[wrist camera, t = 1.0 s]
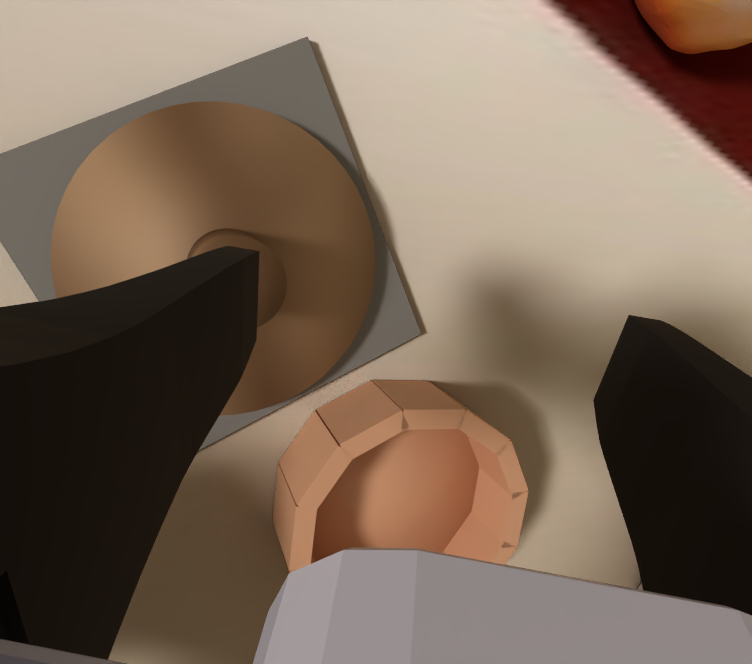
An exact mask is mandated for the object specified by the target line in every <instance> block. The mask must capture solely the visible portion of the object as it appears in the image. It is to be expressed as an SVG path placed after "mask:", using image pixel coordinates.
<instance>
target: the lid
mask: <svg viewBox="0 0 752 664" xmlns="http://www.w3.org/2000/svg"><path fill="white" fill-rule="evenodd" d="M225 246H234V247H239V248H245V249H251V250H257V251H260V254H259V283H258V312H257V340H256V343H255V345H254V348H253V350H252V353H251V356H250V358H249V361H248V363H247V366H246V368H245V370H244V373H243V375H242V377H241V379H240V381H239V383H238V385H237V386H236V388H235V390H234V392H233V393H232V395H231V397H230V398H229V400H228V402H227V404H226V405H225V407H224V409H223V410H222V412H221V414H220V415H219V416H222V415H237V414H242V413H248V412H253V411H258V410H261V409H264V408H267V407H270V406H274V405H276V404H278V403H281V402H283V401H285V400H287V399H290V398H292V397H294V396H295V395H297V394H299V393H300V392H302V391H304V390H305V389H307V388H309V387H310V386H311V385H312V384H314V383H315V382H316V381H318V380H319V379H320V378H321V377H323V376H324V375H325V374H326V373H327V372H328V371H329V370H330V369H331V368H332V367H333V366H334V365H335V364H336V363H337V362H338V360H339V359H340V358H341V357H342V355H343V354H344V353H345V352H346V350H347V349H348V348H349V346H350V344H351V343H352V341H353V340H354V338H355V336H356V335H357V333H358V331H359V329H360V327H361V325H362V322H363V320H364V318H365V316H366V312H367V309H368V306H369V303H370V300H371V296H372V290H373V285H374V278H375V263H376V261H375V244H374V238H373V233H372V227H371V223H370V220H369V217H368V213H367V210H366V207H365V204H364V202H363V200H362V198H361V196H360V194H359V191H358V189H357V187H356V186H355V184H354V182H353V181H352V179H351V178H350V176H349V174H348V173H347V171H346V170H345V169H344V167H343V166H342V165H341V164H340V163H339V161H338V160H337V159H336V158H335V156H334V155H333V154H332V153H331V152H330V151H329V150H328V149H327V148H326V147H324V146H323V145H322V144H321V143H320V142H319V141H318V140H317V139H315V138H314V137H313V136H311V135H310V134H309V133H307V132H306V131H305V130H303V129H302V128H300V127H299V126H297V125H295V124H293V123H291V122H290V121H288V120H286V119H284V118H282V117H280V116H277V115H275V114H272V113H270V112H267V111H265V110H262V109H259V108H255V107H251V106H247V105H243V104H237V103H228V102H219V101H209V102H191V103H184V104H178V105H172V106H169V107H166V108H162V109H159V110H156V111H153V112H150V113H147V114H145V115H143V116H141V117H139V118H137V119H135V120H133V121H131V122H129V123H127V124H126V125H124V126H123V127H121V128H120V129H118V130H117V131H115V132H114V133H112V134H111V135H109V136H108V137H107V138H106V139H105V140H104V141H103V142H102V143H100V144H99V145H98V146H97V147H96V148H95V149H94V150H93V151H92V152H91V153H90V154H89V156H88V157H87V158H86V159H85V160H84V162H83V163H82V164H81V165H80V167H79V168H78V169H77V171H76V173H75V174H74V176H73V178H72V179H71V181H70V183H69V184H68V186H67V188H66V190H65V192H64V195H63V197H62V200H61V202H60V205H59V207H58V210H57V214H56V218H55V222H54V227H53V231H52V241H51V253H50V255H51V271H52V280H53V284H54V289H55V293H56V298H60V297H65V296H69V295H74V294H78V293H83V292H87V291H91V290H95V289H99V288H102V287H106V286H109V285H113V284H116V283H119V282H122V281H125V280H128V279H131V278H135V277H138V276H141V275H144V274H147V273H150V272H153V271H156V270H159V269H162V268H164V267H167V266H170V265H172V264H175V263H178V262H181V261H183V260H186V259H189V258H191V257H194V256H197V255H199V254H202V253H205V252H208V251H211V250H214V249H217V248H221V247H225Z"/></svg>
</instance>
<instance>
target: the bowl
mask: <svg viewBox="0 0 752 664" xmlns="http://www.w3.org/2000/svg"><path fill="white" fill-rule="evenodd" d="M316 410H317V412H316V411H314V412H313V414H312V415H311V417H310V418H309V419H308V421H307V422H306V424H305V425H304V427H303V428H302V429H301V431H300V432H299V434H298V435H297V436H296V438H295V439H294V441H293V442H292V444H291V445H290V446H289V448H288V449H287V451H286V452H285V454H284V455H283V456H282V458H281V459H280V461H279V463H278V470H277V480H276V490H275V500H274V510H273V523H274V526H275V529H276V532H277V535H278V539H279V542H280V545H281V548H282V551H283V554H284V557H285V560H286V563H287V566H288V569H289V572H290V573H291V572H293V571H296V570H298V569H300V568H303V567H305V566H307V565H310V564H312V563H314V562H317V561H319V560H321V559H323V558H326V557H328V556H330V555H333V554H335V553H337V552H340V551H342V550H345V549H348V548H418V549H424V550H429V551H434V552H440V553H445V554H450V555H456V556H461V557H466V558H472V559H477V560H483V561H488V562H493V563H499V564H504V565H505V564H506V563H507V561H508V560H509V559H510V557H511V556H512V554H513V553H514V552H515V550H516V549H517V548H516V547H518V542H519V537H520V532H521V527H522V522H523V517H524V512H525V507H526V502H527V497H528V487H527V485H526V482H525V479H524V476H523V473H522V470H521V467H520V464H519V461H518V458H517V455H516V453H515V450H514V447H513V444H512V441H511V440H510V439H509V438H507V437H506V436H505V435H503V434H502V433H501V432H499V431H498V430H497V429H495V428H494V427H493V426H491V425H490V424H489V423H487V422H486V421H485V420H483V419H482V418H481V417H479V416H478V415H477V414H475V413H474V412H473V411H471V410H470V409H469V408H467V407H466V406H464V405H463V404H461V403H460V402H458V401H457V400H456V399H454V398H453V397H451V396H450V395H448V394H447V393H445V392H444V391H442V390H441V389H440V388H438V387H437V386H435V385H434V384H432V383H431V382H429V381H412V380H372V381H371V380H370V381H369V382H367V383H365V384H363V385H361V386H359V387H357V388H355V389H353V390H352V391H350V392H348V393H346V394H344V395H342V396H340V397H338V398H337V399H335V400H333V401H331V402H329V403H327V404H325V405H323V406H321V407H320V408H318V409H316Z"/></svg>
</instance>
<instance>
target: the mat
mask: <svg viewBox="0 0 752 664" xmlns="http://www.w3.org/2000/svg"><path fill="white" fill-rule="evenodd" d="M209 101H219V102H228V103H237V104H243V105H247V106H251V107H255V108H259V109H262V110H265V111H267V112H270V113H272V114H275V115H277V116H280V117H282V118H284V119H286V120H288V121H290V122H291V123H293V124H295V125H297V126H299V127H300V128H302V129H303V130H305V131H306V132H307V133H309V134H310V135H311V136H313V137H314V138H315V139H317V140H318V141H319V142H320V143H321V144H322V145H323V146H324V147H326V148H327V149H328V150H329V151H330V152H331V153H332V154H333V155H334V156H335V158H336V159H337V160H338V161H339V163H340V164H341V165H342V166H343V167H344V169H345V170H346V171H347V173H348V174H349V176H350V178H351V179H352V181H353V182H354V184H355V186H356V187H357V189H358V191H359V194H360V196H361V198H362V200H363V202H364V204H365V207H366V210H367V213H368V217H369V220H370V223H371V227H372V233H373V238H374V244H375V261H376V263H375V278H374V285H373V290H372V296H371V300H370V303H369V306H368V309H367V312H366V316H365V318H364V320H363V322H362V325H361V327H360V329H359V331H358V333H357V335H356V336H355V338H354V340H353V341H352V343H351V344H350V346H349V348H348V349H347V350H346V352H345V353H344V354H343V355H342V357H341V358H340V359H339V360H338V362H337V363H336V364H335V365H334V366H333V367H332V368H331V369H330V370H329V371H328V372H327V373H326V374H325V375H324V376H323V377H321V378H320V379H319V380H318V381H316V382H315V383H314V384H312V385H311V386H310V387H309V388H307V389H305V390H304V391H302V392H300V393H299V394H297V395H295V396H294V397H292V398H290V399H287V400H285V401H283V402H281V403H278V404H276V405H274V406H270V407H267V408H264V409H261V410H258V411H253V412H248V413H242V414H237V415H222V416H219V417H218V419H217V420H216V422H215V424H214V425H213V427H212V429H211V430H210V432H209V434H208V435H207V437H206V439H205V440H204V442H203V444H202V445H201V447H200V449H202V448H204V447H206V446H208V445H210V444H212V443H214V442H216V441H217V440H219V439H221V438H223V437H225V436H227V435H229V434H231V433H233V432H235V431H237V430H238V429H240V428H242V427H244V426H246V425H248V424H250V423H252V422H254V421H256V420H258V419H259V418H261V417H263V416H265V415H267V414H269V413H271V412H273V411H275V410H277V409H279V408H281V407H282V406H284V405H286V404H288V403H290V402H292V401H294V400H296V399H298V398H300V397H302V396H303V395H305V394H307V393H309V392H311V391H313V390H315V389H317V388H319V387H321V386H323V385H324V384H326V383H328V382H330V381H332V380H334V379H336V378H338V377H340V376H342V375H344V374H346V373H347V372H349V371H351V370H353V369H355V368H357V367H359V366H361V365H363V364H365V363H367V362H368V361H370V360H372V359H374V358H376V357H378V356H380V355H382V354H384V353H386V352H388V351H389V350H391V349H393V348H395V347H397V346H399V345H401V344H403V343H405V342H407V341H409V340H410V339H412V338H414V337H416V336H418V335H420V334H421V332H420V329H419V327H418V324H417V322H416V319H415V316H414V314H413V311H412V309H411V306H410V303H409V301H408V298H407V295H406V293H405V290H404V288H403V285H402V282H401V280H400V277H399V275H398V272H397V269H396V267H395V264H394V261H393V259H392V256H391V254H390V251H389V248H388V246H387V243H386V241H385V238H384V235H383V233H382V230H381V227H380V225H379V222H378V220H377V217H376V214H375V212H374V209H373V207H372V204H371V201H370V199H369V196H368V193H367V191H366V188H365V186H364V183H363V180H362V178H361V175H360V173H359V170H358V167H357V165H356V162H355V159H354V157H353V154H352V152H351V149H350V146H349V144H348V141H347V139H346V136H345V133H344V131H343V128H342V125H341V123H340V120H339V118H338V115H337V112H336V110H335V107H334V105H333V102H332V99H331V97H330V94H329V91H328V89H327V86H326V84H325V81H324V78H323V76H322V73H321V71H320V68H319V65H318V63H317V60H316V57H315V55H314V52H313V50H312V47H311V44H310V42H309V39H308V37H305V38H302V39H300V40H297V41H295V42H292V43H289V44H287V45H284V46H282V47H279V48H276V49H274V50H271V51H268V52H266V53H263V54H261V55H258V56H255V57H253V58H250V59H247V60H245V61H242V62H240V63H237V64H234V65H232V66H229V67H227V68H224V69H221V70H219V71H216V72H213V73H211V74H208V75H206V76H203V77H200V78H198V79H195V80H193V81H190V82H187V83H185V84H182V85H179V86H177V87H174V88H172V89H169V90H166V91H164V92H161V93H159V94H156V95H153V96H151V97H148V98H145V99H143V100H140V101H138V102H135V103H132V104H130V105H127V106H125V107H122V108H119V109H117V110H114V111H111V112H109V113H106V114H104V115H101V116H98V117H96V118H93V119H90V120H88V121H85V122H83V123H80V124H77V125H75V126H72V127H70V128H67V129H64V130H62V131H59V132H56V133H54V134H51V135H49V136H46V137H43V138H41V139H38V140H36V141H33V142H30V143H28V144H25V145H22V146H20V147H17V148H15V149H12V150H9V151H7V152H4V153H2V154H0V242H1V243H2V245H3V246H4V248H5V249H6V251H7V252H8V254H9V256H10V257H11V259H12V260H13V262H14V263H15V265H16V266H17V268H18V270H19V271H20V273H21V274H22V276H23V277H24V279H25V280H26V282H27V284H28V285H29V287H30V288H31V290H32V291H33V293H34V294H35V296H36V298H37V299H38V301H45V300H51V299H56V293H55V289H54V284H53V280H52V271H51V255H50V253H51V241H52V231H53V227H54V222H55V218H56V214H57V210H58V207H59V205H60V202H61V200H62V197H63V195H64V192H65V190H66V188H67V186H68V184H69V183H70V181H71V179H72V178H73V176H74V174H75V173H76V171H77V169H78V168H79V167H80V165H81V164H82V163H83V162H84V160H85V159H86V158H87V157H88V156H89V154H90V153H91V152H92V151H93V150H94V149H95V148H96V147H97V146H98V145H99V144H100V143H102V142H103V141H104V140H105V139H106V138H107V137H108V136H109V135H111V134H112V133H114V132H115V131H117V130H118V129H120V128H121V127H123V126H124V125H126V124H127V123H129V122H131V121H133V120H135V119H137V118H139V117H141V116H143V115H145V114H147V113H150V112H153V111H156V110H159V109H162V108H166V107H169V106H172V105H178V104H184V103H191V102H209ZM200 449H199V450H200Z"/></svg>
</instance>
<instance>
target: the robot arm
mask: <svg viewBox="0 0 752 664" xmlns="http://www.w3.org/2000/svg"><path fill="white" fill-rule="evenodd" d="M259 254H260V251H257V250H251V249H245V248H239V247H234V246H225V247H221V248H217V249H214V250H211V251H208V252H205V253H202V254H199V255H197V256H194V257H191V258H189V259H186V260H183V261H181V262H178V263H175V264H172V265H170V266H167V267H164V268H162V269H159V270H156V271H153V272H150V273H147V274H144V275H141V276H138V277H135V278H131V279H128V280H125V281H122V282H119V283H116V284H113V285H109V286H106V287H102V288H99V289H95V290H91V291H87V292H83V293H78V294H74V295H69V296H65V297H60V298H56V299H51V300H45V301H39V302H33V303H26V304H20V305H13V306H6V307H0V664H126V663H121V662H116V661H110V660H108V658H109V655H110V652H111V650H112V647H113V644H114V641H115V639H116V636H117V633H118V631H119V628H120V626H121V623H122V621H123V618H124V616H125V613H126V611H127V608H128V606H129V603H130V601H131V598H132V596H133V593H134V591H135V588H136V586H137V583H138V580H139V578H140V575H141V573H142V571H143V568H144V566H145V564H146V561H147V559H148V556H149V554H150V552H151V549H152V547H153V545H154V542H155V540H156V538H157V535H158V533H159V530H160V528H161V526H162V523H163V521H164V519H165V517H166V515H167V512H168V510H169V508H170V506H171V503H172V501H173V499H174V497H175V494H176V492H177V490H178V488H179V486H180V483H181V481H182V479H183V477H184V475H185V474H186V472H187V470H188V468H189V466H190V464H191V462H192V460H193V459H194V457H195V455H196V454H197V452H198V450H199V449H200V447H201V445H202V444H203V442H204V440H205V439H206V437H207V435H208V434H209V432H210V430H211V429H212V427H213V425H214V424H215V422H216V420H217V419H218V417H219V415H220V414H221V412H222V410H223V409H224V407H225V405H226V404H227V402H228V400H229V398H230V397H231V395H232V393H233V392H234V390H235V388H236V386H237V385H238V383H239V381H240V379H241V377H242V375H243V373H244V370H245V368H246V366H247V363H248V361H249V358H250V356H251V353H252V350H253V348H254V345H255V343H256V340H257V312H258V283H259ZM594 407H595V415H596V422H597V429H598V434H599V440H600V445H601V448H602V452H603V455H604V458H605V461H606V464H607V468H608V471H609V474H610V477H611V480H612V483H613V486H614V489H615V492H616V495H617V498H618V502H619V505H620V508H621V511H622V514H623V517H624V520H625V523H626V526H627V529H628V532H629V535H630V538H631V541H632V545H633V548H634V552H635V556H636V559H637V563H638V567H639V572H640V577H641V582H642V587H643V590H638V589H633V588H627V587H622V586H616V585H611V584H606V583H600V582H595V581H590V580H584V579H579V578H574V577H568V576H563V575H558V574H552V573H547V572H541V571H536V570H531V569H525V568H520V567H515V566H509V565H504V564H499V563H493V562H488V561H483V560H477V559H472V558H466V557H461V556H456V555H450V554H445V553H440V552H434V551H429V550H424V549H418V548H348V549H345V550H342V551H340V552H337V553H335V554H333V555H330V556H328V557H326V558H323V559H321V560H319V561H317V562H314V563H312V564H310V565H307V566H305V567H303V568H300V569H298V570H296V571H293V572H291V573H289V574H288V576H287V578H286V580H285V582H284V583H283V585H282V587H281V589H280V591H279V593H278V594H277V596H276V598H275V600H274V602H273V604H272V605H271V607H270V609H269V611H268V614H267V617H266V621H265V624H264V627H263V631H262V634H261V638H260V641H259V644H258V648H257V651H256V654H255V658H254V661H253V664H752V377H750V376H749V375H747V374H745V373H744V372H742V371H741V370H739V369H738V368H737V367H735V366H734V365H732V364H731V363H729V362H728V361H726V360H725V359H723V358H722V357H720V356H719V355H717V354H716V353H714V352H713V351H711V350H710V349H708V348H707V347H705V346H704V345H702V344H701V343H699V342H698V341H696V340H695V339H693V338H692V337H690V336H688V335H687V334H685V333H684V332H682V331H680V330H679V329H677V328H675V327H673V326H671V325H670V324H667V323H665V322H663V321H660V320H655V319H649V318H643V317H637V316H632V315H629V316H628V318H627V321H626V323H625V326H624V328H623V330H622V333H621V335H620V338H619V340H618V342H617V345H616V347H615V350H614V352H613V354H612V357H611V359H610V362H609V364H608V366H607V369H606V371H605V374H604V376H603V378H602V381H601V383H600V386H599V388H598V391H597V393H596V395H595V398H594Z"/></svg>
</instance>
